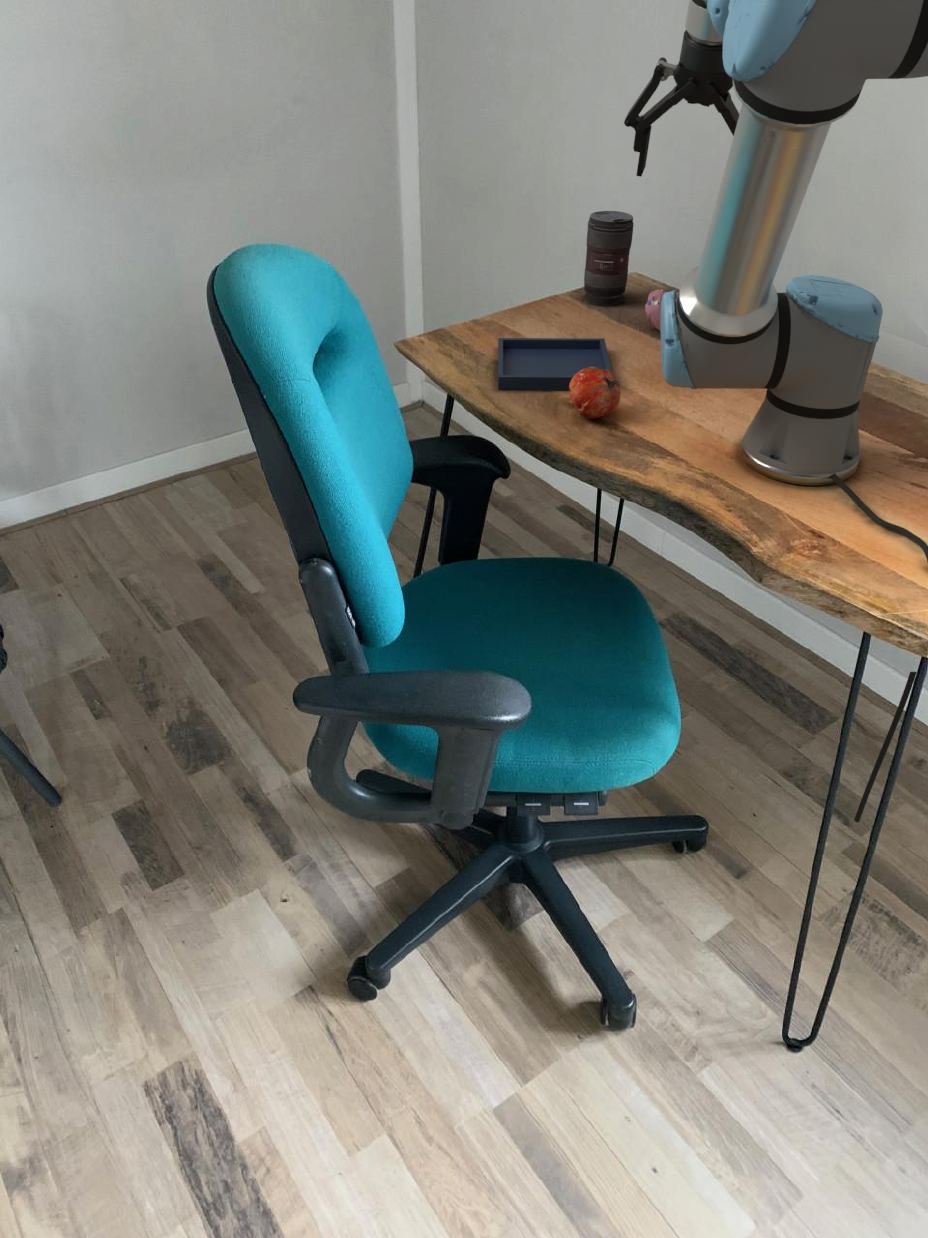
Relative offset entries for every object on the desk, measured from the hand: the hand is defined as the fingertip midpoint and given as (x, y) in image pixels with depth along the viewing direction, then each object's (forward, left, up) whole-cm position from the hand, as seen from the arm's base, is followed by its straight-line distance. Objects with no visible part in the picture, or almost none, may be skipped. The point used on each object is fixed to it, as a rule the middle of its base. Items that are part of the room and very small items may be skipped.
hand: (684, 179), depth 145 cm
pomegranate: (-27, +14, -26) cm, 40 cm away
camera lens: (+21, +8, -26) cm, 35 cm away
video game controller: (+8, -1, -26) cm, 28 cm away
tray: (-11, +19, -26) cm, 34 cm away
